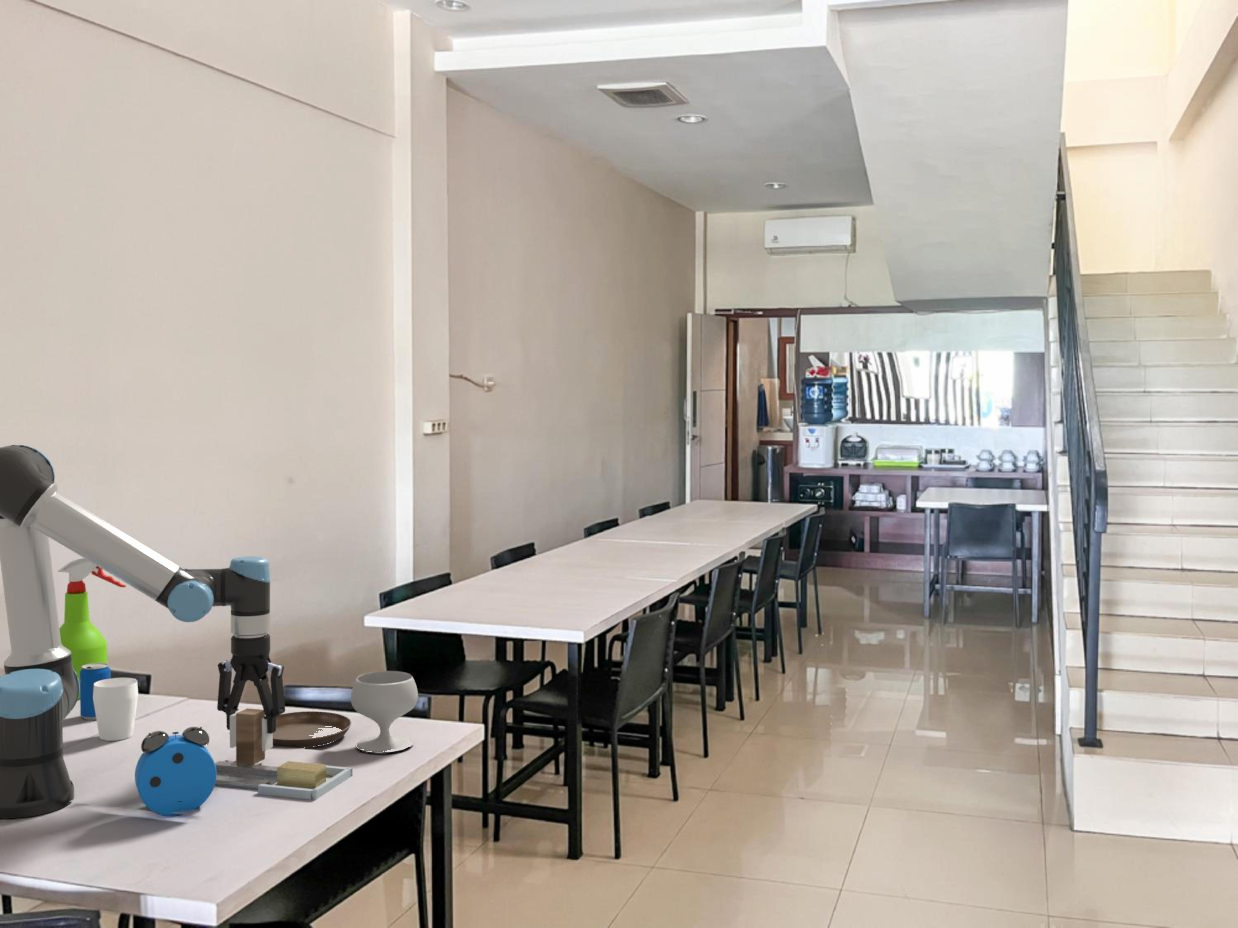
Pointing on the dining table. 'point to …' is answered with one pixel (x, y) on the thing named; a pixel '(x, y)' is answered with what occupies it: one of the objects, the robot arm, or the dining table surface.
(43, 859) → the dining table surface
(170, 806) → the alarm clock
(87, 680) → the beverage can
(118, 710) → the cup
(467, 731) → the dining table surface
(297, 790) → the tray
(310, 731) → the plant saucer
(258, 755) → the brown wooden block
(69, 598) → the spray bottle
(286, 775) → the chip
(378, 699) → the chalice
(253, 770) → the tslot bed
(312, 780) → the chip
